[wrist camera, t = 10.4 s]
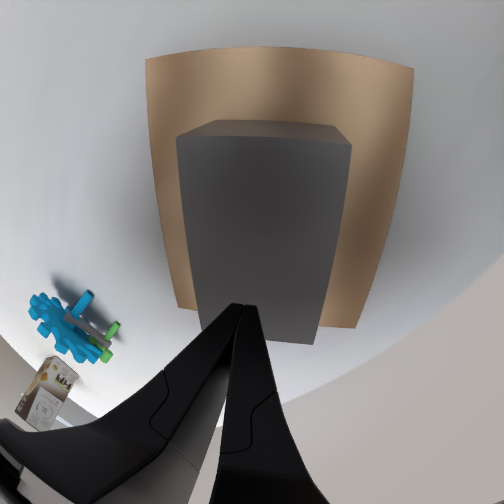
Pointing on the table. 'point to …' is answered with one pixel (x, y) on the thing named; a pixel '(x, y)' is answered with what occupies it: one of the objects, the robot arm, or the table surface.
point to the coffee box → (46, 394)
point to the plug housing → (263, 218)
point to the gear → (71, 328)
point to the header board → (293, 110)
